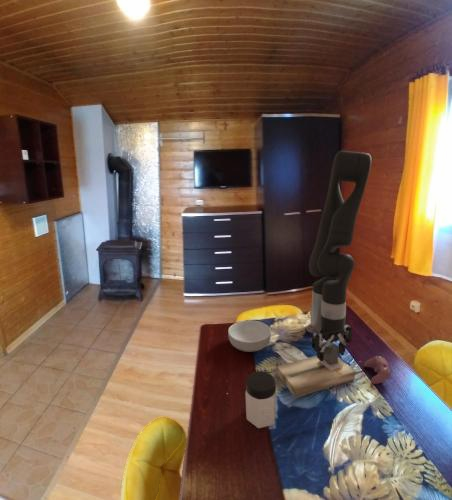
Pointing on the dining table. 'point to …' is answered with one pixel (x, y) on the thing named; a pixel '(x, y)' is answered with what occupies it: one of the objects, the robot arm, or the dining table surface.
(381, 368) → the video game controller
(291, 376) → the tan flat block
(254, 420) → the jar
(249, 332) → the cereal bowl
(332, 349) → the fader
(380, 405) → the dining table surface
